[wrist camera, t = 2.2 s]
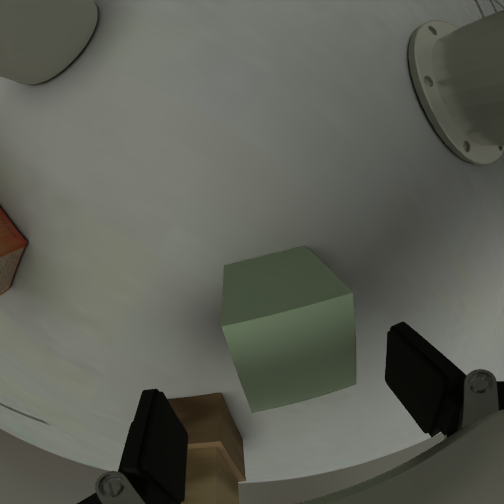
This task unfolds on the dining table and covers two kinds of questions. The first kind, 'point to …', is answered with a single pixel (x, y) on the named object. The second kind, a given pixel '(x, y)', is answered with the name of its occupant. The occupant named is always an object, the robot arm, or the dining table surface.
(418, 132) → the dining table surface
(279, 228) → the dining table surface
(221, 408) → the tower base
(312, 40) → the dining table surface
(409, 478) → the robot arm
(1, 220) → the cracker box
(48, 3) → the pill bottle
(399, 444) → the dining table surface
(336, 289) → the sage block
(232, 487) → the tower mid
